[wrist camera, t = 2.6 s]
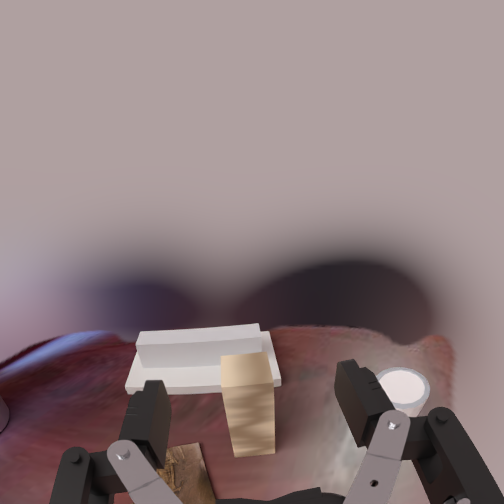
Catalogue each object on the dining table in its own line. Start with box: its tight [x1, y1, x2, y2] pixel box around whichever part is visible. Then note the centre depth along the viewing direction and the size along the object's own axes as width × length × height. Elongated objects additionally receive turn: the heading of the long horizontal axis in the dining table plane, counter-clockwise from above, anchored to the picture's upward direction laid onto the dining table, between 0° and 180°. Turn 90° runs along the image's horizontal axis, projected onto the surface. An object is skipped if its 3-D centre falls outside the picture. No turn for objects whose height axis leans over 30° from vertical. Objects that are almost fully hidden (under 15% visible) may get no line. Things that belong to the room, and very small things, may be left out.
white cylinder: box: [376, 367, 430, 417], centre depth 29 cm, size 7×7×7 cm
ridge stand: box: [125, 323, 281, 394], centre depth 43 cm, size 22×12×6 cm, turn 95°
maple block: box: [221, 352, 275, 457], centre depth 28 cm, size 4×4×12 cm
